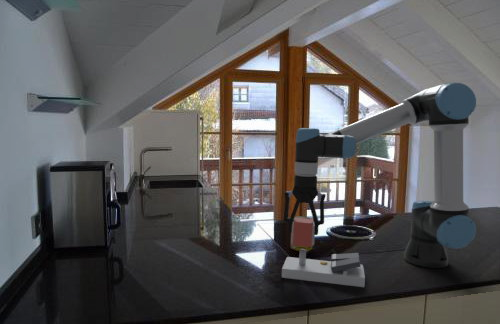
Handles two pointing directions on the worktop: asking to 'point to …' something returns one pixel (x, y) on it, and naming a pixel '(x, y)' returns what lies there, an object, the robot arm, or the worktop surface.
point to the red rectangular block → (302, 232)
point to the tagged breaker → (343, 256)
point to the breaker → (345, 264)
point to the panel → (321, 271)
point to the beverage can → (301, 246)
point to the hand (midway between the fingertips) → (302, 243)
